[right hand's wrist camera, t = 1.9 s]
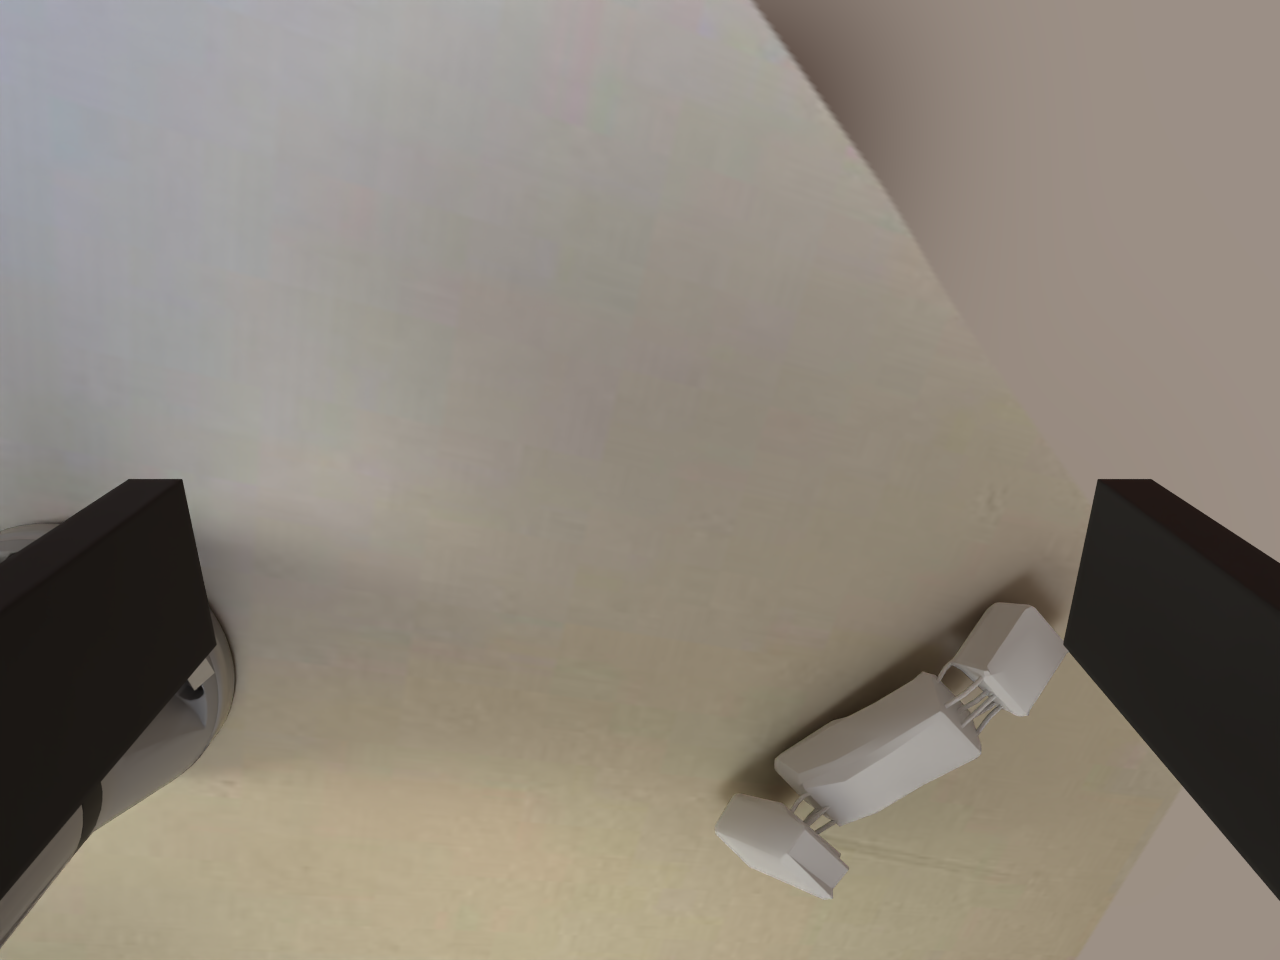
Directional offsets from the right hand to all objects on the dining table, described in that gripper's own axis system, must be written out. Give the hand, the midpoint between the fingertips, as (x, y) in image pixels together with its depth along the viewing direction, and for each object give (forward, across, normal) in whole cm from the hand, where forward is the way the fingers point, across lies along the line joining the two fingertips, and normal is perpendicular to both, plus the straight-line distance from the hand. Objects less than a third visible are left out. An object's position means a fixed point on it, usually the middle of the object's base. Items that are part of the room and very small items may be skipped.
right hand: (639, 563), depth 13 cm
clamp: (+26, -12, +22) cm, 37 cm away
